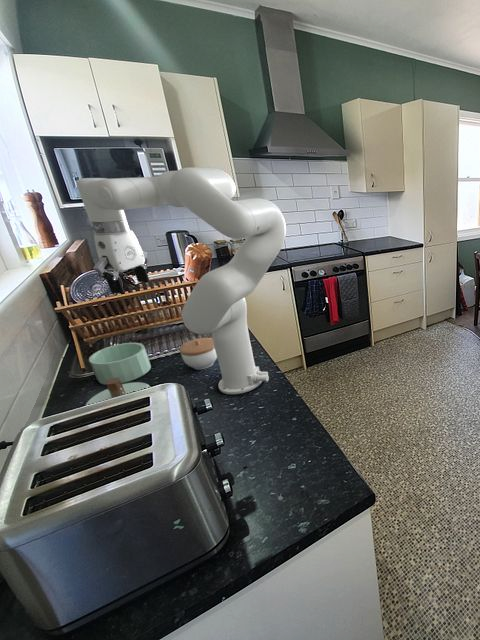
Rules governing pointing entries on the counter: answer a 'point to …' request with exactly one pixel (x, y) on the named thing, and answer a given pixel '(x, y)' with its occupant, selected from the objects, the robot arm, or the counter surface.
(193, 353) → the trinket box
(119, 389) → the bowl lid
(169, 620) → the counter surface
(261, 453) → the counter surface
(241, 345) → the robot arm
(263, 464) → the counter surface
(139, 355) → the bowl
